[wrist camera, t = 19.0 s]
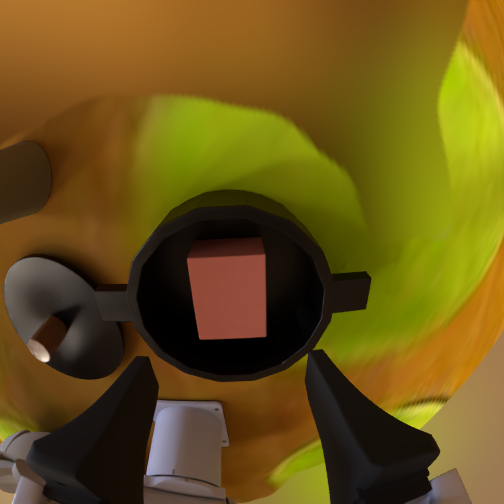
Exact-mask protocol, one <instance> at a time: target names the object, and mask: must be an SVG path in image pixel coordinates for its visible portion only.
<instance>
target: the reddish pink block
mask: <svg viewBox="0 0 504 504" xmlns="http://www.w3.org/2000/svg"><path fill="white" fill-rule="evenodd" d="M187 262H188V270H189V277H190V284H191V291H192V297H193V304H194V310H195V316H196V322H197V328H198V333H199V339H200V340H205V339H235V338H254V337H266V336H267V322H266V254H265V250H264V246H263V242H262V238H261V237H249V238H229V239H210V240H194V242H193V244H192V247H191V250H190V252H189V255H188V258H187Z"/></svg>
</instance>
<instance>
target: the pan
mask: <svg viewBox="0 0 504 504" xmlns="http://www.w3.org/2000/svg"><path fill="white" fill-rule="evenodd" d="M249 237H261V238H262V242H263V246H264V250H265V254H266V322H267V336H266V337H254V338H235V339H205V340H200V339H199V333H198V328H197V322H196V316H195V310H194V304H193V297H192V291H191V284H190V277H189V270H188V262H187V258H188V255H189V252H190V250H191V247H192V244H193V242H194V240H210V239H229V238H249ZM370 284H371V277H370V276H369V275H368V273H367V272H366V271H363V272H350V273H337V274H331V272H330V269H329V266H328V263H327V261H326V258H325V255H324V252H323V251H322V249H321V248H320V246H319V245H318V243H317V242H316V240H315V239H314V238H313V236H312V235H311V233H310V232H309V231H308V229H307V228H306V227H305V226H304V225H303V224H302V223H301V222H300V221H299V220H298V219H297V218H296V217H295V216H294V215H293V214H292V213H291V212H290V211H289V210H287V209H286V208H285V207H284V206H283V205H282V204H280V203H278V202H276V201H274V200H272V199H270V198H267V197H265V196H263V195H260V194H256V193H253V192H248V191H243V190H242V191H241V190H220V191H212V192H207V193H203V194H201V195H199V196H196V197H194V198H191V199H189V200H187V201H186V202H184V203H182V204H181V205H179V206H178V207H176V208H174V209H172V210H171V211H170V212H169V213H168V215H167V216H166V217H165V218H164V220H163V221H162V222H161V223H160V225H159V226H158V227H157V228H156V230H155V231H154V232H153V233H152V235H151V236H150V237H149V239H148V240H147V241H146V242H145V244H144V245H143V246H142V248H141V249H140V250H139V252H138V253H137V254H136V256H135V257H134V258H133V261H132V264H131V269H130V274H129V280H128V284H99V285H98V286H97V287H96V289H95V290H94V295H95V298H96V301H97V304H98V308H99V311H100V314H101V317H102V319H103V321H118V322H133V323H134V326H135V329H136V330H137V332H138V333H139V334H140V335H141V337H142V338H143V339H144V341H145V342H146V343H147V344H148V346H149V347H150V348H151V349H152V350H153V352H154V353H155V354H156V355H157V356H158V357H160V358H161V359H163V360H164V361H166V362H168V363H169V364H171V365H173V366H174V367H176V368H177V369H179V370H181V371H182V372H184V373H187V374H190V375H194V376H198V377H201V378H205V379H209V380H214V381H218V382H219V381H220V382H234V381H253V380H258V379H261V378H264V377H267V376H269V375H272V374H275V373H278V372H281V371H284V370H286V369H288V368H289V367H290V366H292V365H293V364H294V363H296V362H297V361H298V360H300V359H301V358H302V357H304V356H305V355H306V354H307V353H308V352H309V351H311V350H313V349H314V347H315V346H316V344H317V343H318V341H319V339H320V338H321V336H322V334H323V333H324V331H325V330H326V328H327V326H328V325H329V323H330V321H331V317H332V313H338V312H347V311H355V310H364V309H366V306H367V301H368V295H369V290H370Z"/></svg>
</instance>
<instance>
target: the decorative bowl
mask: <svg viewBox="0 0 504 504" xmlns="http://www.w3.org/2000/svg"><path fill="white" fill-rule="evenodd" d="M48 434H50V433H49V432H30V431H29V430H23V431H19V432H17V433H14V434H12V435H11V436H9V437H8V438H6V439H5V440H4V441H3V442H2V443H1V445H0V489H1V490H2V491H5V492H8V493H16V490H17V487H18V484H19V481H20V478H21V476H25V477H27V478H29V479H32V480H34V481H36V482H38V483H40V484H42V485H43V486H45V483H46V481H44V480H43V479H42V478H41V477H40V476H38V475H37V474H36V473H35V472H34V471H32V470H31V469H30V468H29V467H28V466H27V464H26V462H25V460H26V457H27V455H28V453H29V450H30V448H31V446H32V443H33V441H34V440H37V439H39V438H41V437H44V436H46V435H48Z"/></svg>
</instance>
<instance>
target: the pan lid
mask: <svg viewBox="0 0 504 504" xmlns="http://www.w3.org/2000/svg"><path fill="white" fill-rule="evenodd" d="M96 287H97V286H96V285H95V284H94V282H92V281H91V280H90V279H89V278H88V277H87V276H86V275H85V274H83V273H82V272H81V271H80V270H78V269H77V268H75V267H74V266H72V265H71V264H69V263H67V262H65V261H63V260H61V259H59V258H56V257H53V256H49V255H44V254H33V255H28V256H26V257H23V258H21V259H20V260H19V261H17V262H16V263H15V264H14V265H13V266H12V267H11V268H10V270H9V272H8V274H7V276H6V279H5V285H4V298H5V304H6V309H7V312H8V315H9V317H10V320H11V322H12V324H13V326H14V328H15V330H16V332H17V333H18V335H19V336H20V338H21V339H22V340H23V342H24V343H25V344H26V345H27V347H28V348H29V350H30V351H31V353H32V354H33V355H34V356H35V357H36V358H37V359H39V360H40V361H43V362H45V363H46V364H47V365H49V366H51V367H52V368H54V369H56V370H57V371H59V372H61V373H64V374H66V375H69V376H72V377H75V378H80V379H88V380H92V379H100V378H103V377H106V376H108V375H110V374H112V373H113V372H114V371H115V370H116V369H117V367H118V366H119V364H120V362H121V360H122V357H123V354H124V347H125V341H124V334H123V330H122V326H121V324H120V322H118V321H103V319H102V317H101V314H100V311H99V308H98V304H97V301H96V298H95V295H94V290H95V289H96Z"/></svg>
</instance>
